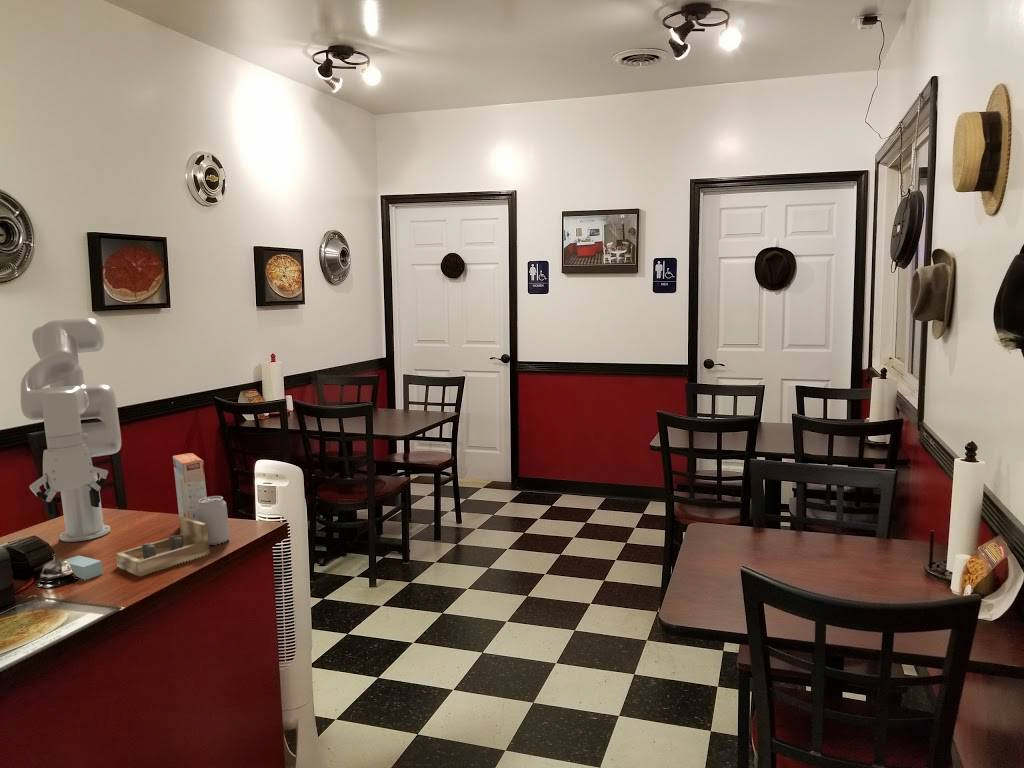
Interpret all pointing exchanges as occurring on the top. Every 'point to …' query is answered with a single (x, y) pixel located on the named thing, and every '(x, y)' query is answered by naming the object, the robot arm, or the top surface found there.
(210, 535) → the can
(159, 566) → the wooden drawer
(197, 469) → the cracker box
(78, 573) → the block
